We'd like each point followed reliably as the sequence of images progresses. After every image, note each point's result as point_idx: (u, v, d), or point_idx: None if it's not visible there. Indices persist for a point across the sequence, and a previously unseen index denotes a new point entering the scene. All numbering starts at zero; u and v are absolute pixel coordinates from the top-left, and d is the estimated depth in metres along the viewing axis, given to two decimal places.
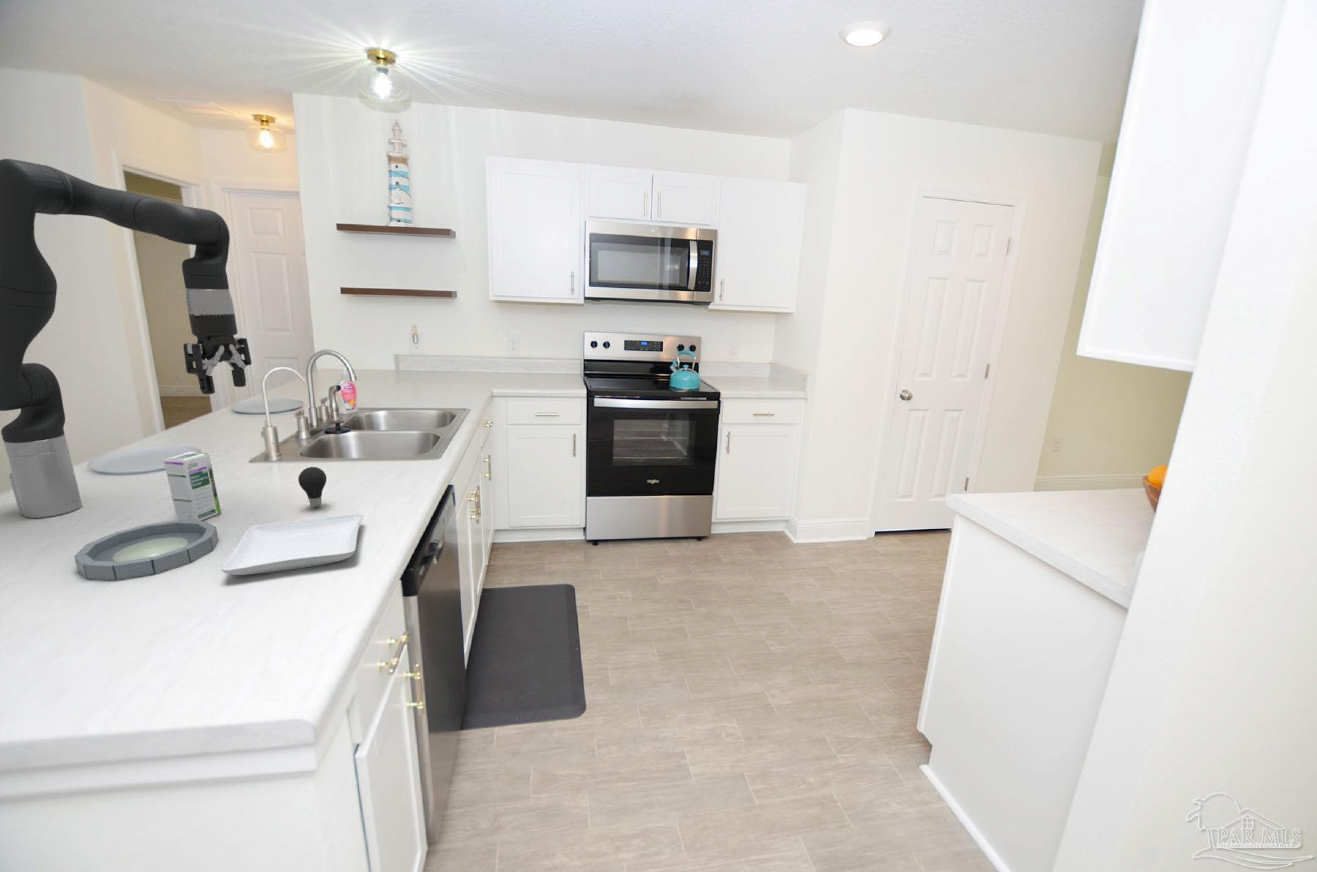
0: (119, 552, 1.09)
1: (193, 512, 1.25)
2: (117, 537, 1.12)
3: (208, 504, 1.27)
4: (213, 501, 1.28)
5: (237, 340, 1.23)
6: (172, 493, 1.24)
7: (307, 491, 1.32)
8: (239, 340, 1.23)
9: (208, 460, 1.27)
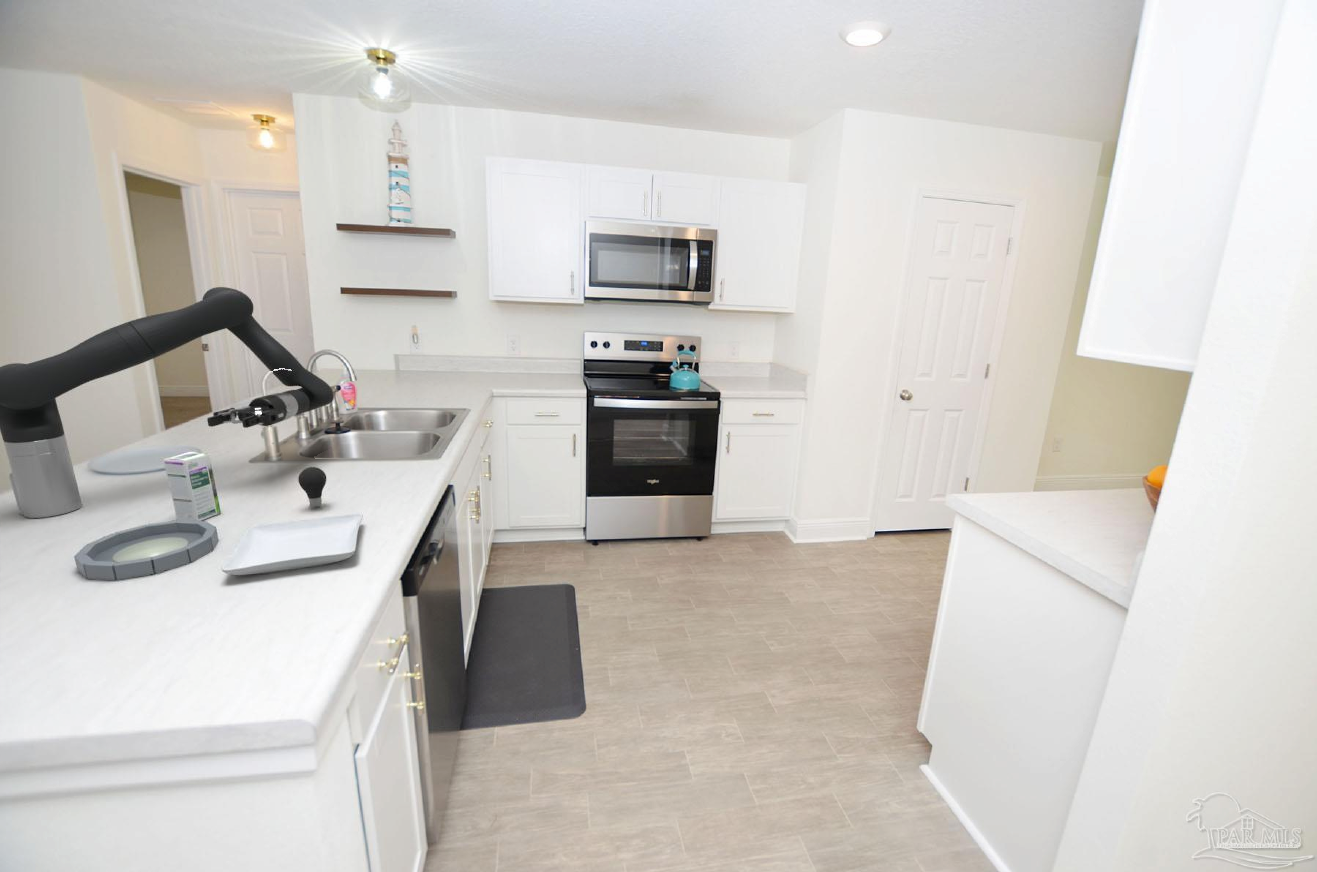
0: (119, 552, 1.09)
1: (193, 512, 1.25)
2: (117, 537, 1.12)
3: (208, 504, 1.27)
4: (213, 501, 1.28)
5: None
6: (172, 493, 1.24)
7: (307, 491, 1.32)
8: None
9: (208, 460, 1.27)
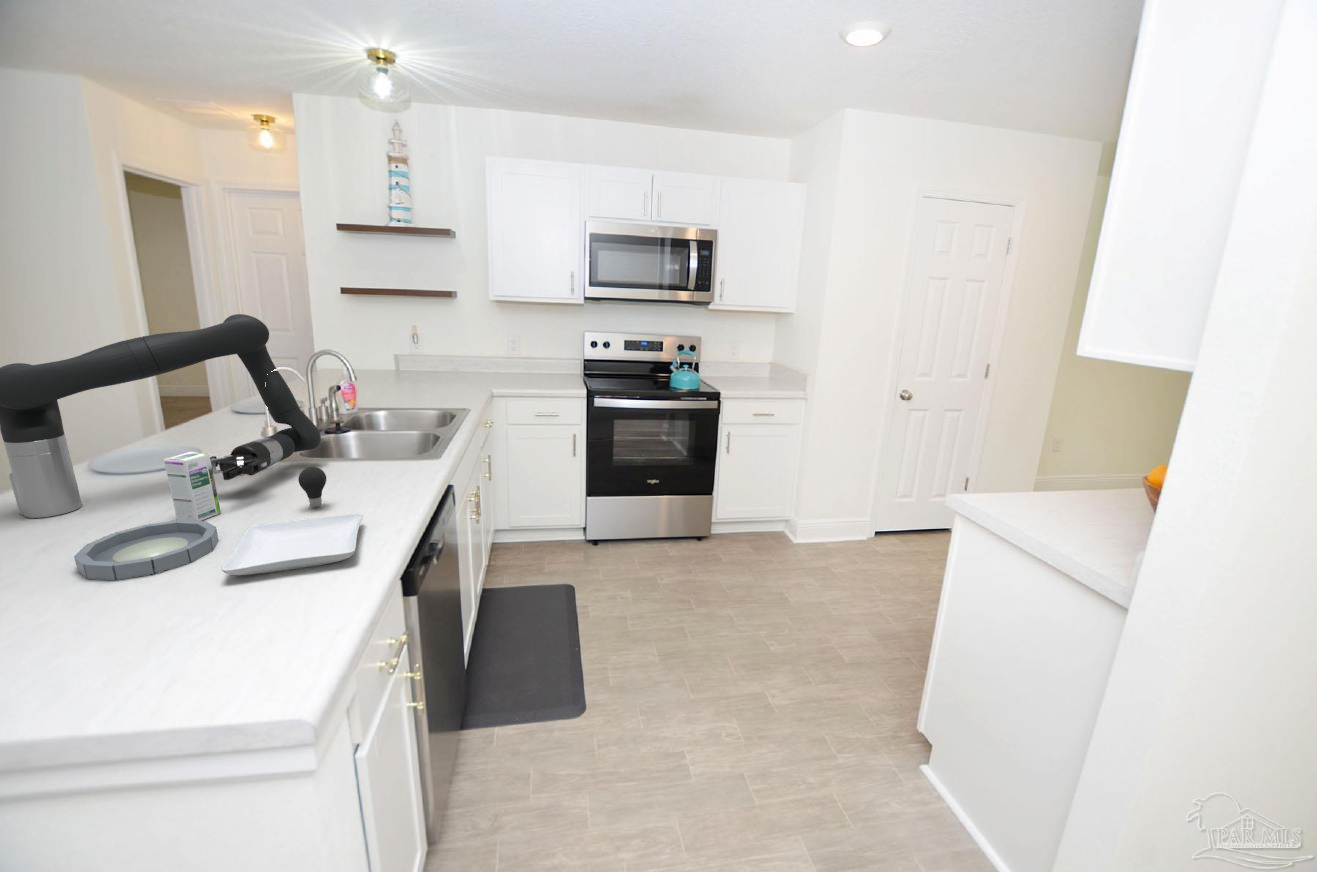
0: (119, 552, 1.09)
1: (193, 512, 1.25)
2: (117, 537, 1.12)
3: (208, 504, 1.27)
4: (213, 501, 1.28)
5: None
6: (172, 493, 1.24)
7: (307, 491, 1.32)
8: None
9: (208, 460, 1.27)
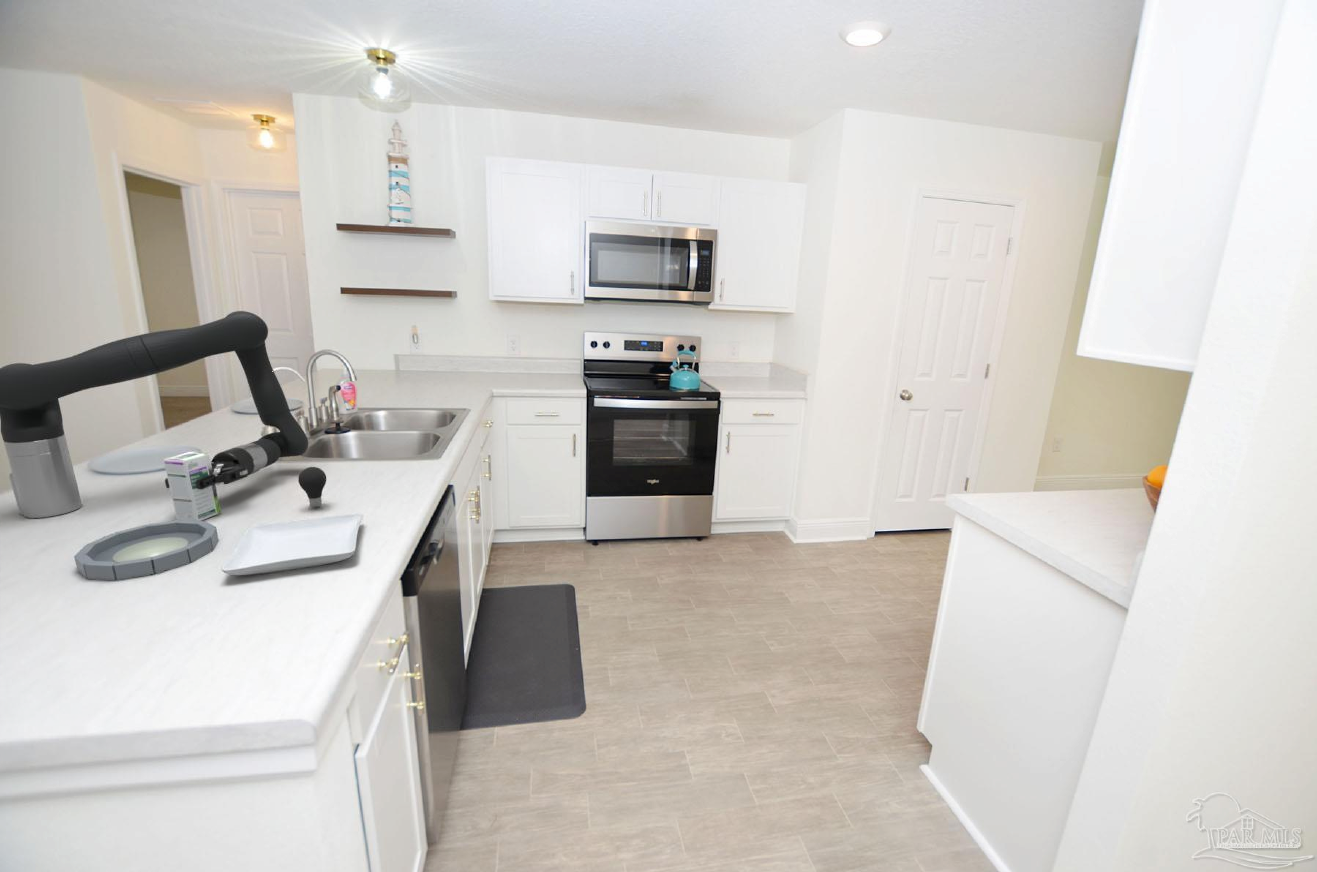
0: (119, 552, 1.09)
1: (193, 512, 1.25)
2: (117, 537, 1.12)
3: (208, 504, 1.27)
4: (213, 501, 1.28)
5: None
6: (172, 493, 1.24)
7: (307, 491, 1.32)
8: None
9: (208, 460, 1.27)
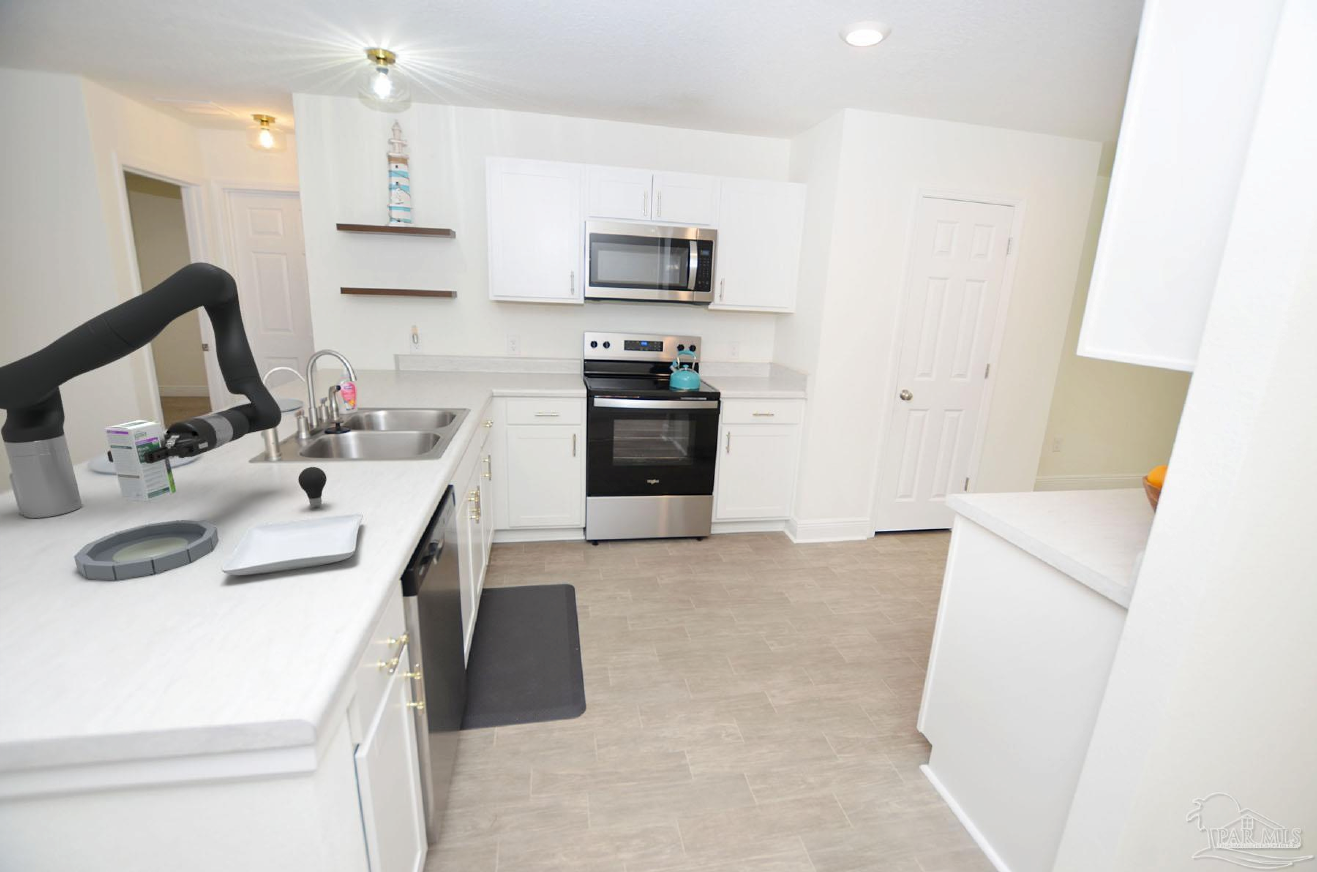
0: (119, 552, 1.09)
1: (141, 490, 1.06)
2: (117, 537, 1.12)
3: (160, 481, 1.09)
4: (166, 478, 1.10)
5: None
6: (116, 468, 1.06)
7: (307, 491, 1.32)
8: None
9: (159, 430, 1.08)
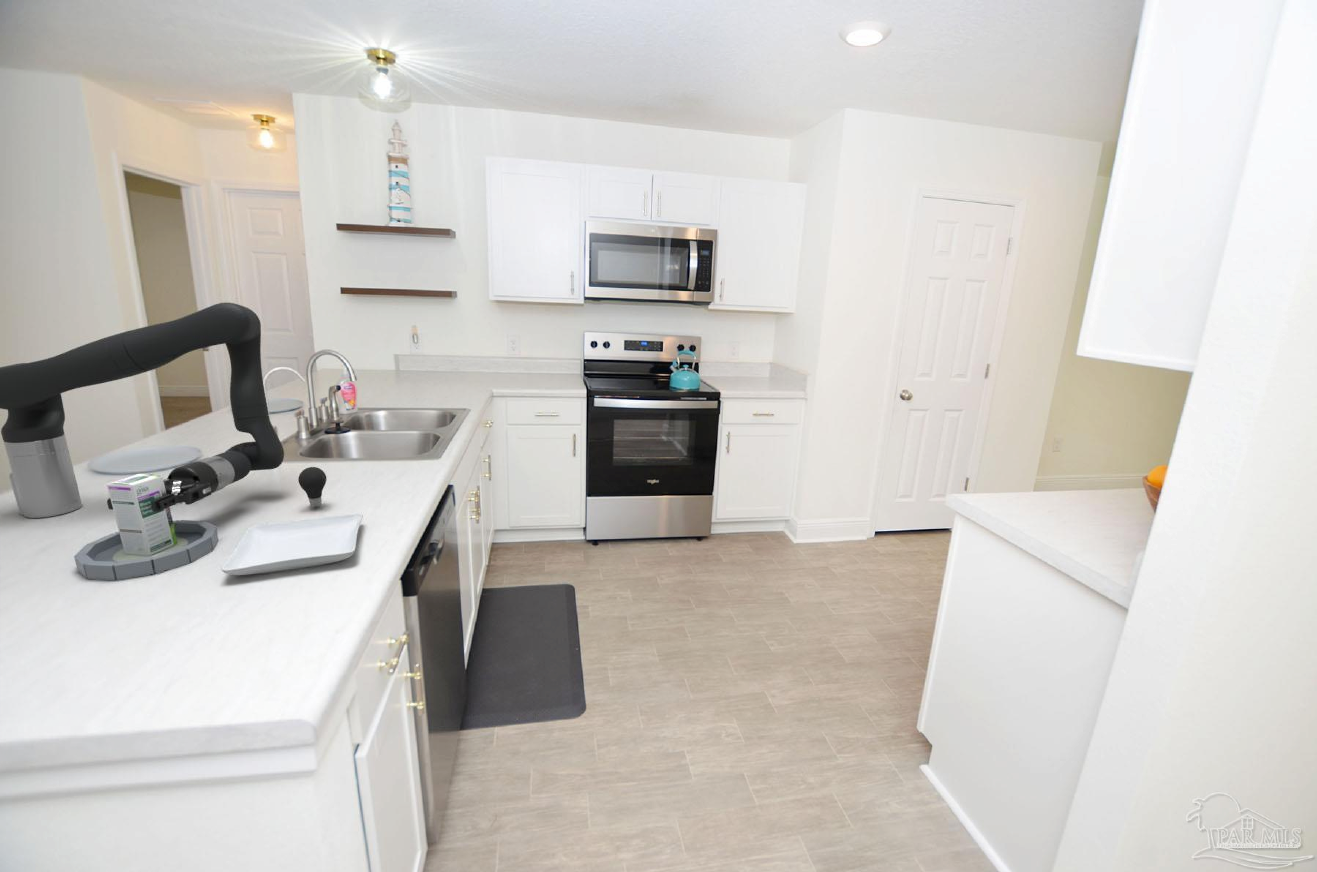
0: (119, 552, 1.09)
1: (144, 544, 1.07)
2: (117, 537, 1.12)
3: (162, 534, 1.09)
4: (168, 530, 1.11)
5: None
6: (118, 523, 1.07)
7: (307, 491, 1.32)
8: None
9: (161, 483, 1.09)
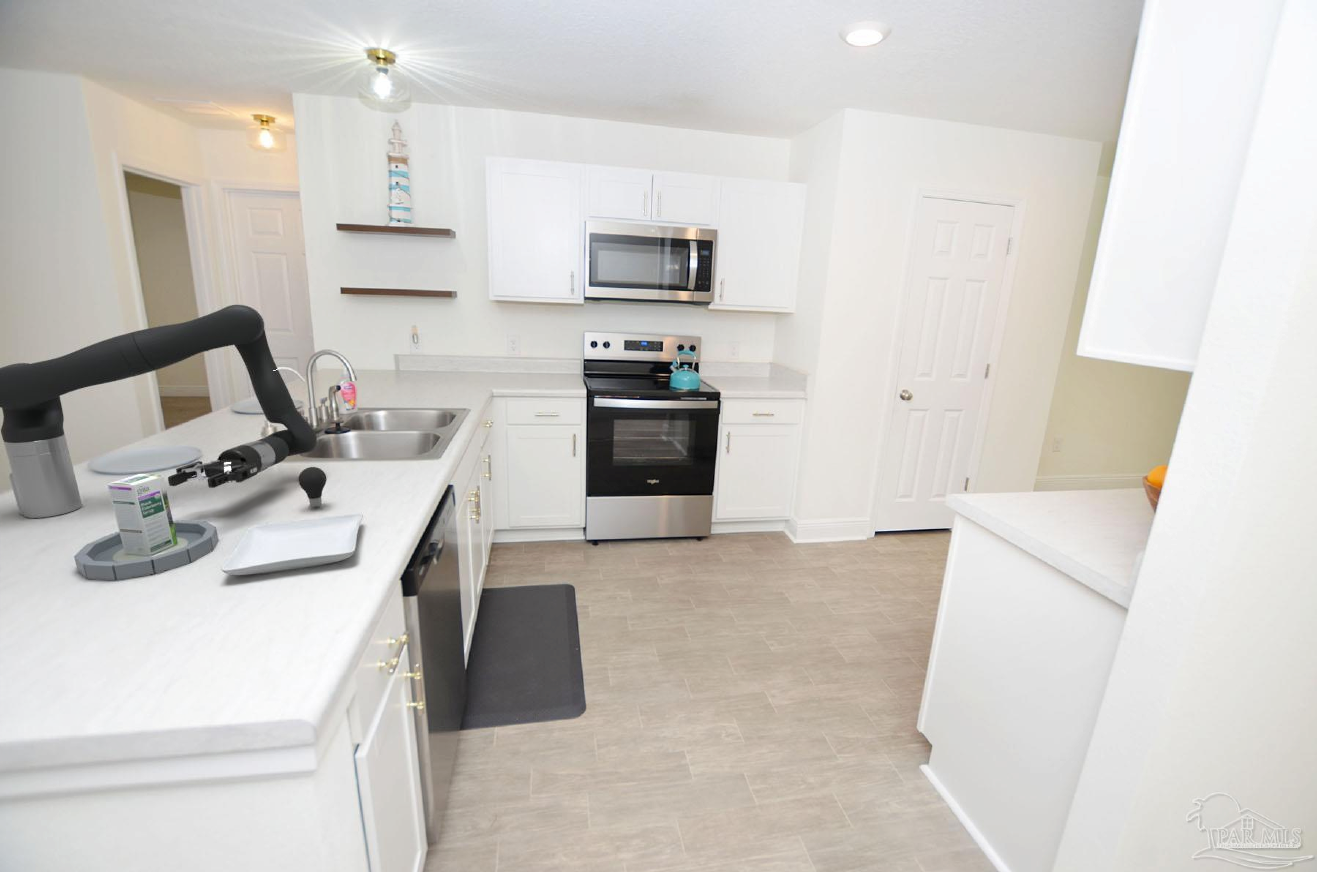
0: (119, 552, 1.09)
1: (144, 545, 1.07)
2: (117, 537, 1.12)
3: (162, 534, 1.10)
4: (168, 530, 1.11)
5: None
6: (119, 523, 1.07)
7: (307, 491, 1.32)
8: (203, 469, 1.28)
9: (162, 483, 1.09)
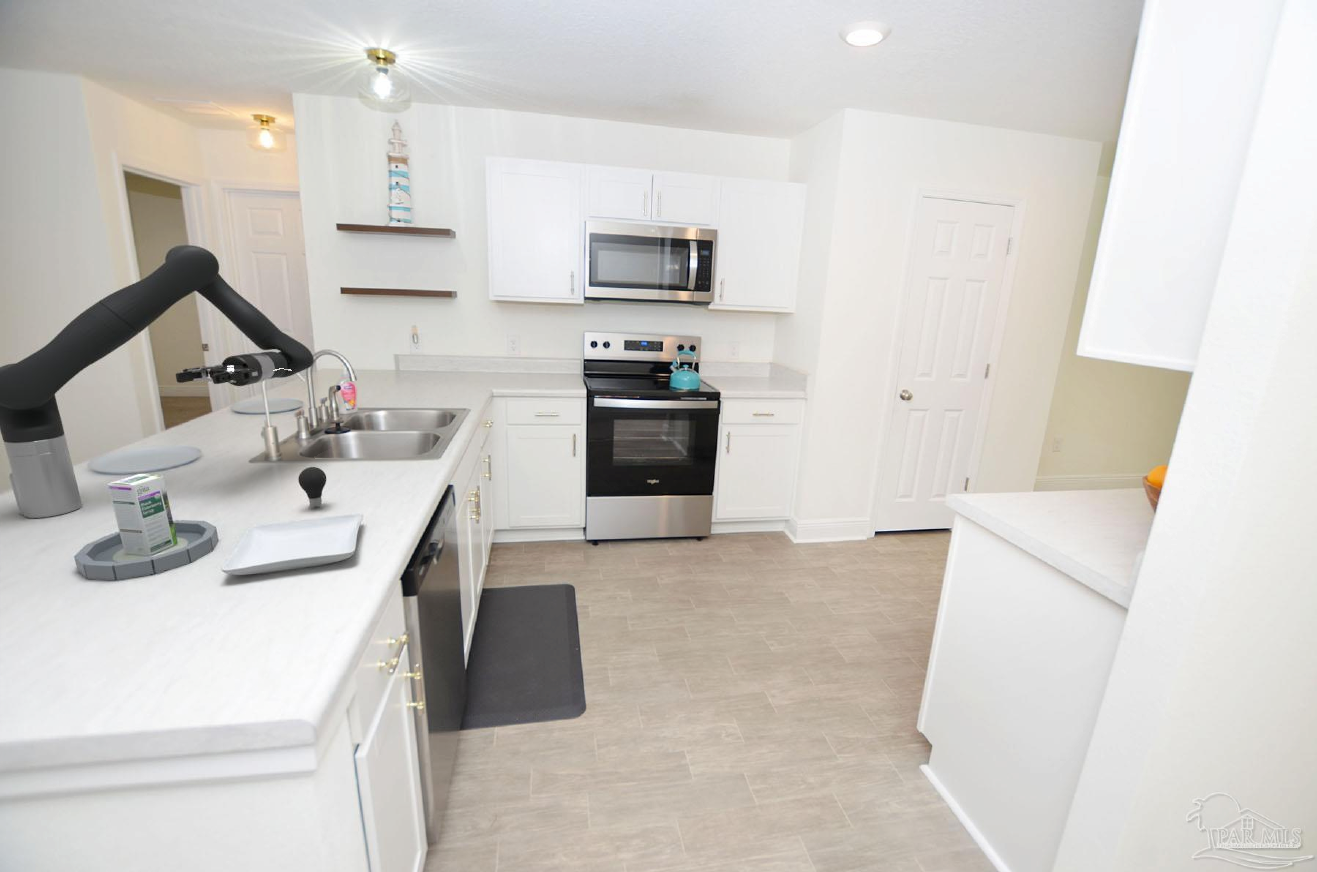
0: (119, 552, 1.09)
1: (144, 545, 1.07)
2: (117, 537, 1.12)
3: (162, 534, 1.10)
4: (168, 530, 1.11)
5: None
6: (119, 523, 1.07)
7: (307, 491, 1.32)
8: (208, 373, 1.38)
9: (162, 483, 1.09)
